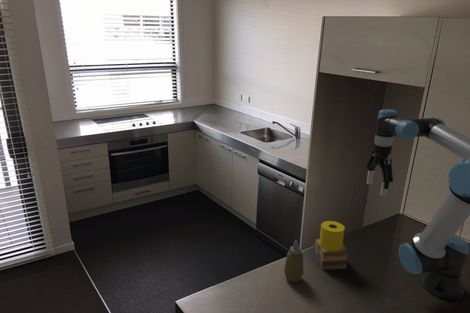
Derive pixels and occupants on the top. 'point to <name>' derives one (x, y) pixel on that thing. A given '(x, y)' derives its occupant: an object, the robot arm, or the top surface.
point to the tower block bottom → (331, 263)
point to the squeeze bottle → (294, 264)
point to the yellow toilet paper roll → (331, 236)
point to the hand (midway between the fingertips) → (376, 189)
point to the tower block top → (331, 253)
